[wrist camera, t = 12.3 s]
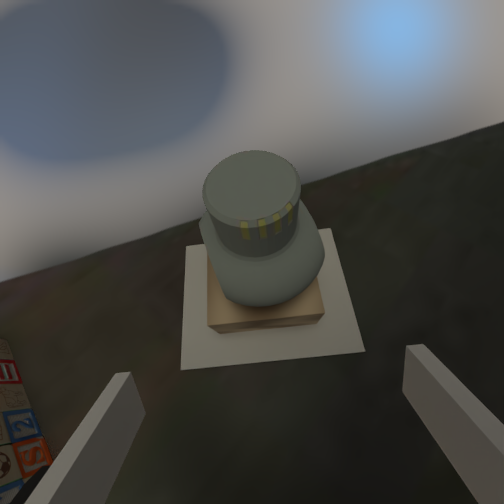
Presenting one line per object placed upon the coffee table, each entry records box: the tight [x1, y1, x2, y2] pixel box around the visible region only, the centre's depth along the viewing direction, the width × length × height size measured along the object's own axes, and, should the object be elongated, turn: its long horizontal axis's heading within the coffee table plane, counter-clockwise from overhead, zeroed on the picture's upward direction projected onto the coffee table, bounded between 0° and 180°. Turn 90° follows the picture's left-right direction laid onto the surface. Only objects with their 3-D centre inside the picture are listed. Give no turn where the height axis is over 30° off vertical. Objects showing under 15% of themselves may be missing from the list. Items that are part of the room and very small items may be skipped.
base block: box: [207, 253, 325, 334], centre depth 25 cm, size 10×12×5 cm
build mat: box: [181, 228, 365, 370], centre depth 26 cm, size 18×14×1 cm
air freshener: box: [199, 150, 325, 307], centre depth 18 cm, size 11×8×10 cm
